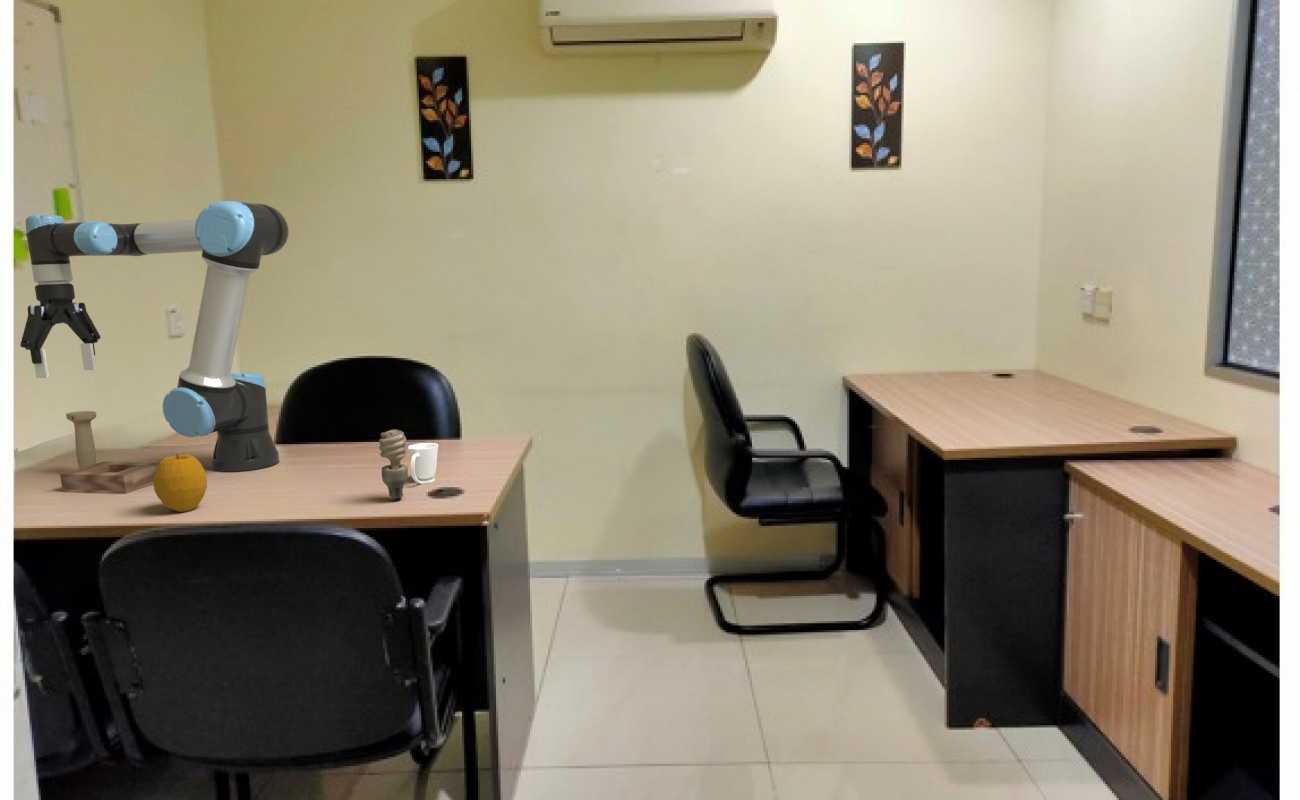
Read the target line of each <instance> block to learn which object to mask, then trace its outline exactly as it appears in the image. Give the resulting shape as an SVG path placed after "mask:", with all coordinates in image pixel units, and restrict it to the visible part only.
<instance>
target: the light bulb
mask: <svg viewBox="0 0 1300 800" xmlns="http://www.w3.org/2000/svg"><path fill="white" fill-rule="evenodd" d="M406 442H407V437H406V436H405V433H404V432H403V431H402V430H400V429H390V430H389V429H388V430H387V431H385V432H381V433H380V438H379V440H378V443H379V447H378V449H379V450H380V451H381V452H380V453H379V456H380V457H381V458H386V459H388V460H389V462H390V464H388V465H384V466H382V467H381V479H382V482H383V483H384V485H385V486H386V487H387V490H388V493H389V494H388V496H389V497H390V498H391V499H394V500H395V501H401V498H403V496H404V493H403V491H404V490H403V489H404V485H405V483H406V482H407V481H408V477H409V475H408V473H409V471H408V470H409V469H408V468H409V467H408V466H407V465H405V464H401V461H402V460H403V459H404V458H405V457H406V456H407V450H406V449H407V444H406Z"/></svg>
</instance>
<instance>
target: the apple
mask: <svg viewBox="0 0 1300 800" xmlns="http://www.w3.org/2000/svg"><path fill="white" fill-rule="evenodd" d="M158 463H159V465H158V466H157V468H156V471H155V474H154V480H153V484H152V485H153V488H154V492H155V494H156V496H157V498H158V499H159V500H160V501H161V503H162V504H163V505H164V506H165V507H167V508H168V509H169V510H171V511H175V512H178V513H185V512H190V511H192V510H195V509H196V508H197V507H198V506H199V504H200V503H201V501H202V500H203V498H204V496H205V494H206V491H207V488H208V487H207V486H208V477H207V473H206V470H205V468H204V467H203V465H202V463H201V462H200V460H198V459H197V458H196V457H195V456H193V455H191V454H188V453H179V454H178V453H176V454H175V455H171V456H167V457H165V458H163V459H162V460H161V461H160V462H158Z"/></svg>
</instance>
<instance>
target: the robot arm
mask: <svg viewBox="0 0 1300 800" xmlns="http://www.w3.org/2000/svg"><path fill="white" fill-rule="evenodd" d="M288 225H289V224H288V222H287V220H286V218H285V216H284V215H283V214H282V213H281V212H280V211H279V210H277V209H276V208H274V207H272V206H270V205H267V204H264V203H252V202H246V201H245V202H241V201H235V200H226V201H225V200H223V201H216V202H212V203H210V204H209V205H207V206H205V207H204V208H203V209H202V211H200V213H199V214H198V216H197V219H196V218H195V219H181V220H179V219H178V220H170V221H169V220H168V221H156V222H155V221H154V222H153V221H152V222H140V223H139V222H138V223H107V222H104V221H95V220H94V221H92V220H89V221H83V222H73V223H72V222H69V223H65V220H64V218H63V216H61V215H56V214H55V215H52V214H46V215H45V214H43V215H40V214H39V215H29V216H27V217H26V218H25V236H26V240H27V245H28V251H29V257H30V265H31V269H32V270H31V271H32V276H33V277H32V278H33V282H34V283H37V284H36V285H35V286H34V291H35V299H36V300H37V301H39V305H28V306H27V319H26V323H25V326H24V329H23V334H22V337H21V341H20V347H21V348H23V349H24V348H25V350H28V351H30V358H31V364H33V365H34V370H35V372H34V373H35V378H36V379H48V378H50V374H49V366H48V360H47V354H46V348H43V346H44V343H45V341H46V339H47V338H48V335H49V334H50V333H51V330H52V328H53V327H54V326H56V324H57V325H58V324H65V325H67V326H68V327H69V328H70V329H71V330H72V332H73V333H74V334H75V335H77V337H78V339H80V340H81V341H82V342H83V343H80V344H79V346H80V350H81V351H80V352H81V358H82V359H81V360H82V365H83V366H82V367H83V371H97V366H96V359H95V356H96V350H95V344H97V343H98V341H99V340H100V339H101V335H100V333H99V331H98V329H97V327H96V326H95V324H94V323H93V320H92V319H91V316H90V315H89V313H88V311H87V307H86V304H85V303H84V302H73V300H75V298H76V294H75V287H74V285H73V284H72V283H71V282H72V281H73V274H72V273H73V272H72V267H71V261H70V260H71V259H70V257H84V256H85V257H87V256H89V257H90V256H91V257H96V256H98V257H100V256H105V257H107V256H112V257H113V256H121V257H122V256H128V257H142V256H147V255H157V254H160V255H161V254H175V253H191V252H202V253H201V258H202V260H204V262H205V264H206V265H207V269H206V273H205V278H204V279H205V280H204V283H203V287H202V288H203V289H202V294H201V301H200V304H199V311H198V315H197V322H196V326H195V332H194V338H193V343H192V348H191V355H190V359H189V365H188V366H187V368H185V369H183V370H182V371H180V373H179V375H178V376H179V377H178V381H177V387H175V388H173V389H171V390H170V391H168V392H167V393H166V394H165V396H164V398H163V401H162V412H163V416H164V419H165V421H166V422H167V423H169V426H170V428H171V429H172V430H174V431H175V432H176V433H177V434H179V435H181V436H184V437H188V438H197V437H206V436H208V435H210V434H212V433H213V434H214V433H216V434H217V435H216V436H217V437H216V442H215V446H214V450H213V454H212V457H211V466H212V470H214V471H219V472H245V471H252V470H258V469H265V468H268V467H271V466H274V465H277V464H279V462H280V453H279V451H278V449H277V447H276V446H277V445H276V444H275V441H274V440H273V437H272V435H271V433H270V426H269V425H270V424H269V414H268V405H267V404H268V403H267V387H266V384H265V378H264V376H263V374H261V373H257V372H256V373H253V372H252V373H251V372H249V373H247V372H244V373H243V372H242V373H240V372H239V373H238V372H237V373H236V372H235V373H234V372H231V371H232V367H233V362H234V356H235V351H236V346H237V342H238V337H239V333H240V332H239V330H240V327H241V321H242V318H243V317H242V315H243V310H244V307H245V306H244V305H245V301H246V295H247V293H248V292H247V290H248V286H249V280H250V276H251V274H253V273H255V272H257V271H258V270H259V269H260V263H261V258H262V256H269V255H270V256H271V255H272V254H276V253H277V252H279V251H280V250H282V248H283V247H285V245H286V243H287V241H288V238H289V234H290V233H289V226H288Z"/></svg>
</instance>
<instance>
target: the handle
mask: <svg viewBox="0 0 1300 800" xmlns="http://www.w3.org/2000/svg"><path fill="white" fill-rule="evenodd" d="M65 415H66V417H65V418H66V420H68V421H70V422H72V423H73V427H74V439H75V454H76V459H77V460H76V461H77V465H78V469H79V468H82V467H86V466H89V465H93V464H96V463H97V453H96V452H97V451H96V447H95V441H94V436H93V430H92V421H93V420H95V419H96V418H97V412H96V411H92V410H85V411H84V410H83V411H74V412H73V411H71V412H67V413H65Z"/></svg>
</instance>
